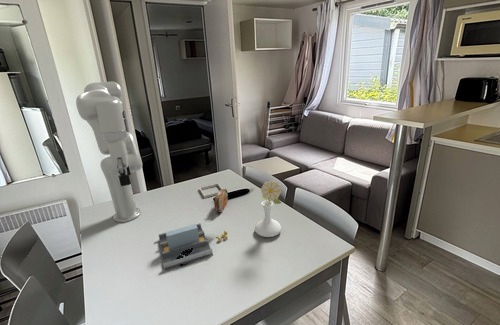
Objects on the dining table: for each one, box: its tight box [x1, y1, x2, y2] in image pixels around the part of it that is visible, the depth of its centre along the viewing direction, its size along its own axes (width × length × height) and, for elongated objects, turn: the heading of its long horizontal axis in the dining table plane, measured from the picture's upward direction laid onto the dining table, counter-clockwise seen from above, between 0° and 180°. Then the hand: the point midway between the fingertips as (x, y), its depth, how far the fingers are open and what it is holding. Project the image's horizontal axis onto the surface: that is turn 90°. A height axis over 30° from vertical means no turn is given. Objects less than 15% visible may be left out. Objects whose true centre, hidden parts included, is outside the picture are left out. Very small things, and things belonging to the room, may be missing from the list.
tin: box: [213, 188, 229, 213], centre depth 134 cm, size 15×3×8 cm, turn 168°
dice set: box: [216, 230, 229, 243], centre depth 112 cm, size 5×5×2 cm
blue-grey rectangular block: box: [165, 223, 200, 250], centre depth 106 cm, size 3×12×7 cm, turn 113°
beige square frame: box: [198, 182, 224, 199], centre depth 153 cm, size 12×12×2 cm
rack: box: [158, 222, 214, 271], centre depth 107 cm, size 20×18×2 cm
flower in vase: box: [254, 179, 282, 238], centre depth 109 cm, size 13×11×25 cm
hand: (126, 180), depth 98 cm, fingers open, 9 cm apart
